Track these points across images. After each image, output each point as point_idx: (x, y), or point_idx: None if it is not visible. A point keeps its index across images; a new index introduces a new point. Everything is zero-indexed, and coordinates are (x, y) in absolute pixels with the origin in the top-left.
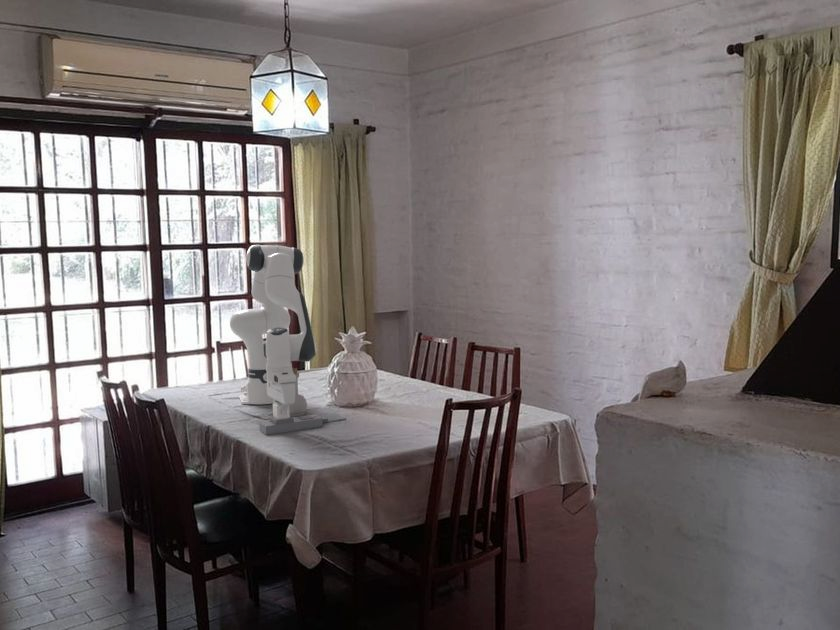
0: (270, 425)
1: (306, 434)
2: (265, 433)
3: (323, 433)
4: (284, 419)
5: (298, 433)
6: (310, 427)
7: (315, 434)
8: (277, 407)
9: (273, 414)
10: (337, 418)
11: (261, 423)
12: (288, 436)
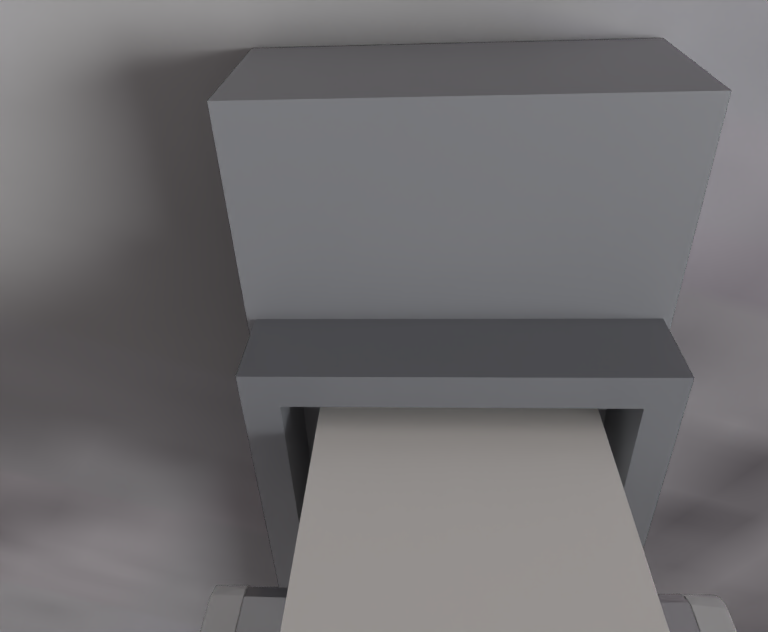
0: (243, 221)
1: (52, 500)
2: (274, 52)
3: (42, 609)
4: (268, 516)
5: (137, 455)
6: None
7: (21, 556)
8: None
9: (591, 482)
10: None
11: (571, 102)
12: (9, 322)
